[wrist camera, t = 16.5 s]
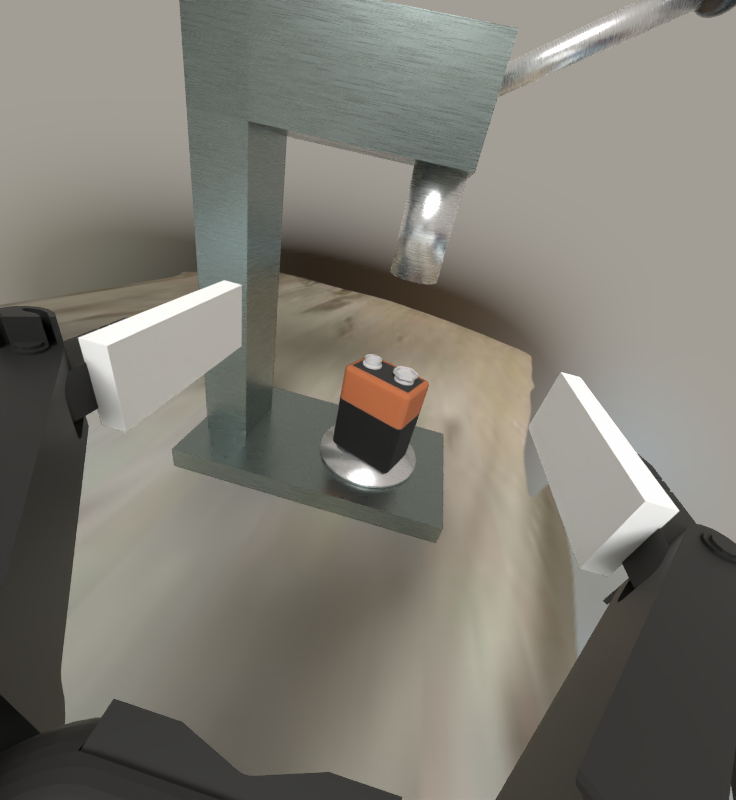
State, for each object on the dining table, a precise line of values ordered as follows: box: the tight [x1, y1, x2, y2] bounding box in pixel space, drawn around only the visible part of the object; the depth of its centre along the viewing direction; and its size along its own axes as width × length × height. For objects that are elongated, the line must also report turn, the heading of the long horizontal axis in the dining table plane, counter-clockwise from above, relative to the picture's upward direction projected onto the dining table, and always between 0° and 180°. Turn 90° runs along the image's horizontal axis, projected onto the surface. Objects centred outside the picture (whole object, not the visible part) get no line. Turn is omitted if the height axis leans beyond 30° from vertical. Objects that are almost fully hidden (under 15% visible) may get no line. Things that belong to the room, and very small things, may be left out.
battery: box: [333, 354, 429, 474], centre depth 33 cm, size 4×7×10 cm, turn 55°
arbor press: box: [172, 0, 736, 543], centre depth 26 cm, size 32×14×40 cm, turn 78°
